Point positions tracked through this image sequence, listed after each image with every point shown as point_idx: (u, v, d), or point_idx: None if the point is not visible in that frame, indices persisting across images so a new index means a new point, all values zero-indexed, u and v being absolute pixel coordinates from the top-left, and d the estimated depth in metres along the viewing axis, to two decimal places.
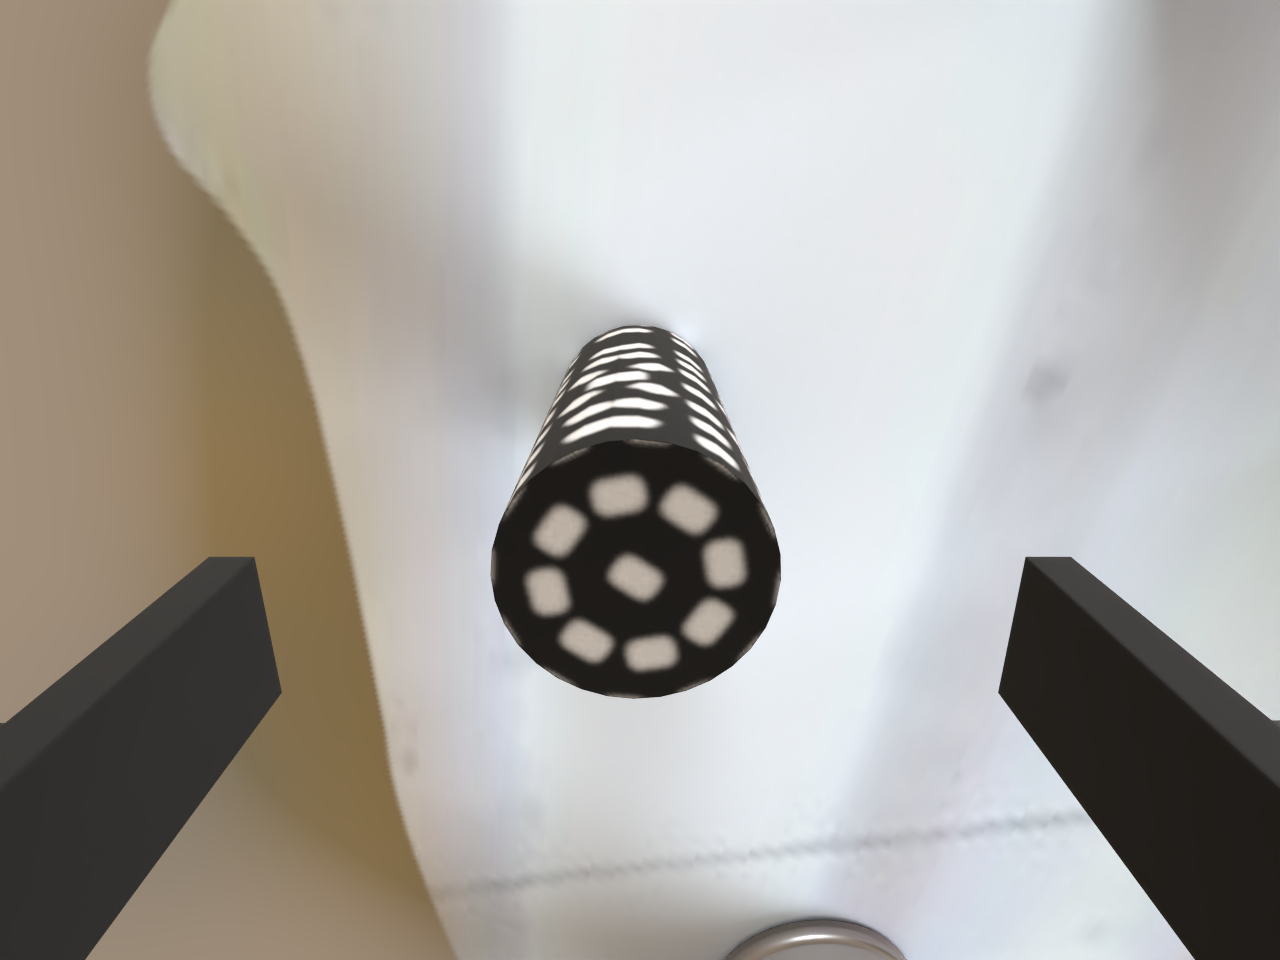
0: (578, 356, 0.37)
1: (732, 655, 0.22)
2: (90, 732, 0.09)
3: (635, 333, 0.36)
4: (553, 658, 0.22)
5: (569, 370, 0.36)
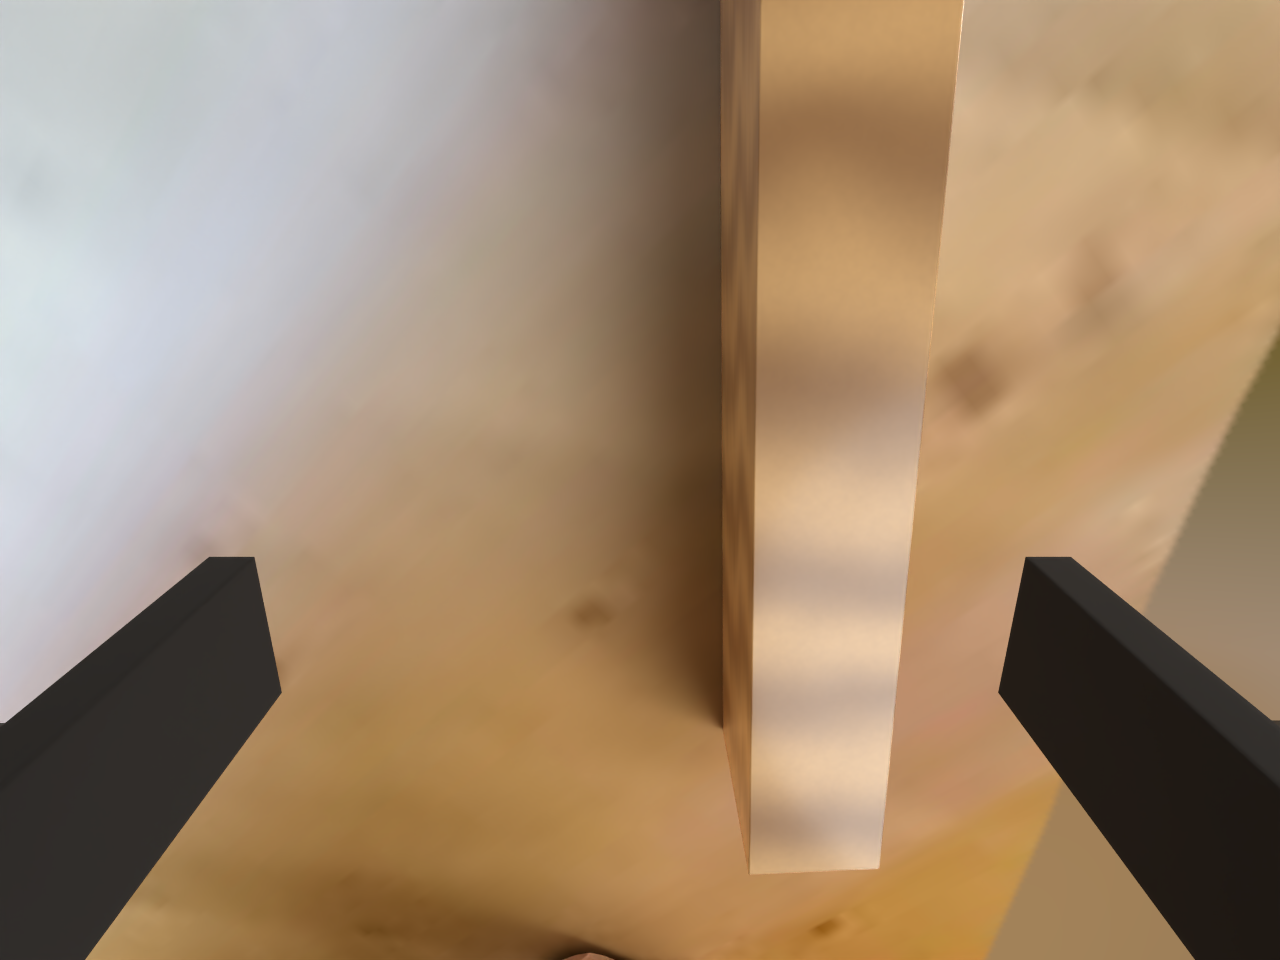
0: None
1: None
2: (90, 732, 0.09)
3: None
4: None
5: None
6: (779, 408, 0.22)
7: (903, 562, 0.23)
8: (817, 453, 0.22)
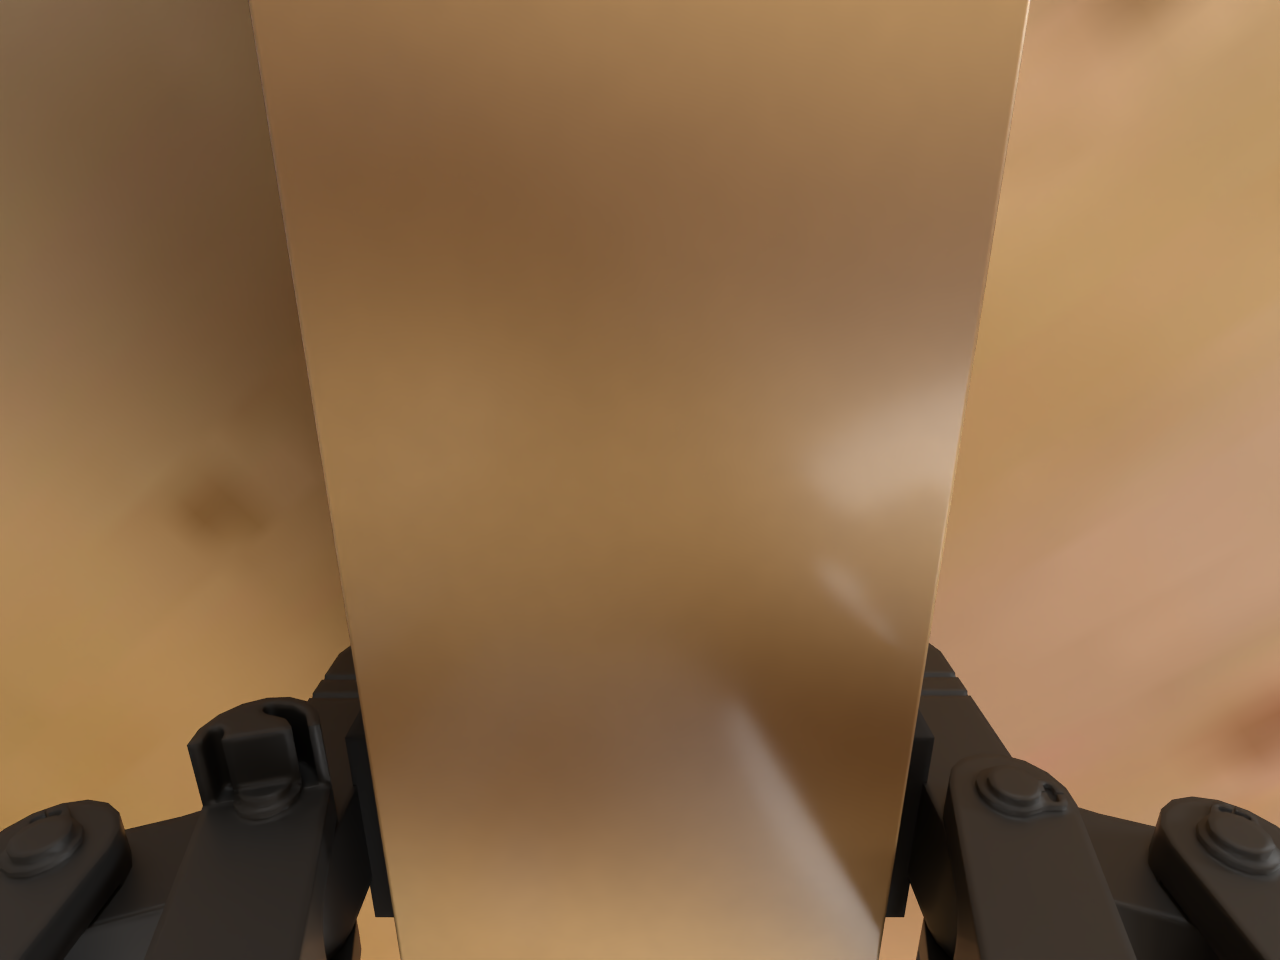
0: None
1: None
2: None
3: None
4: None
5: None
6: None
7: (985, 113, 0.05)
8: None
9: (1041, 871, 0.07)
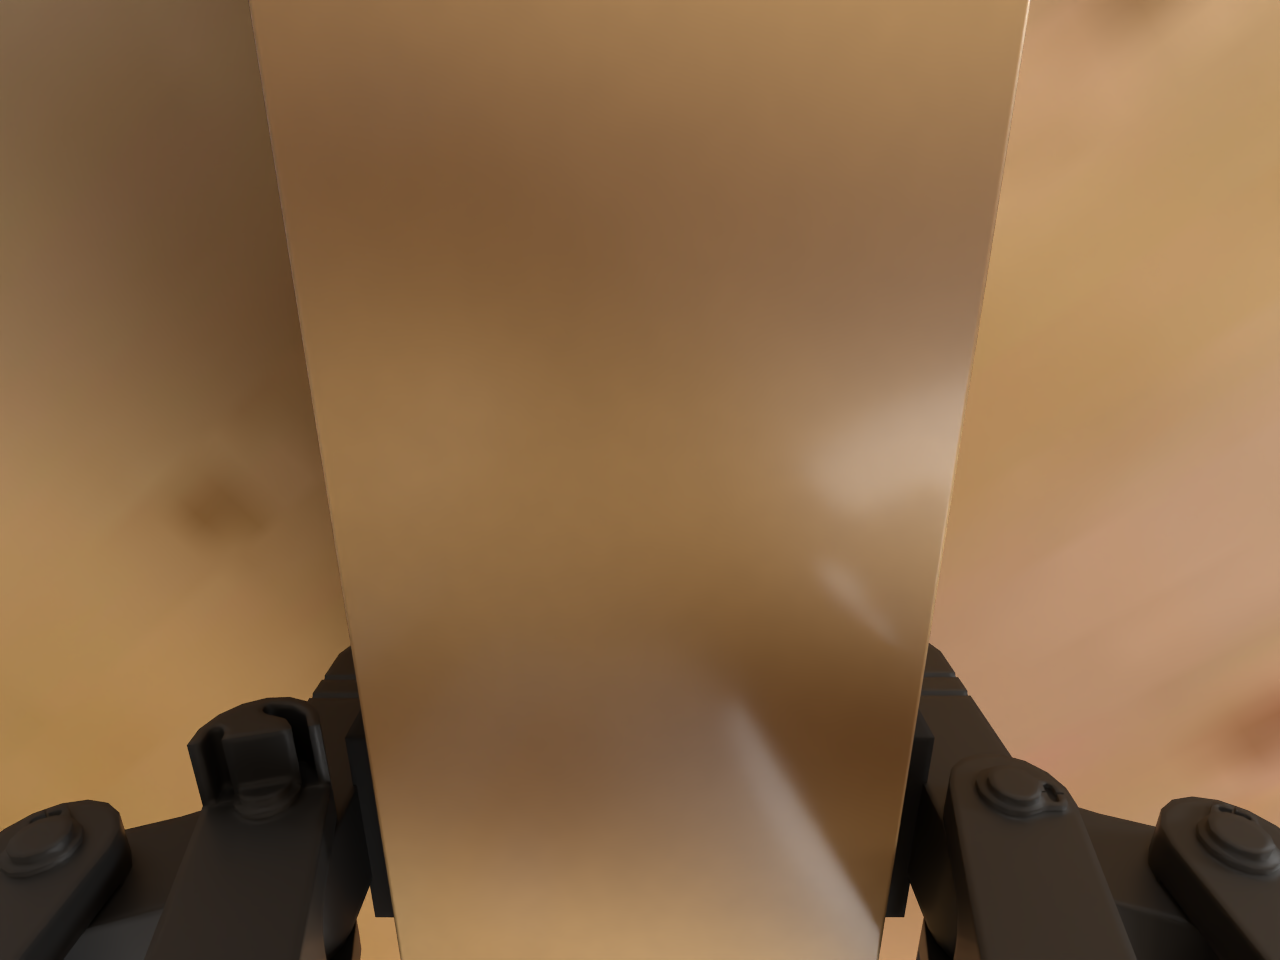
0: None
1: None
2: None
3: None
4: None
5: None
6: None
7: (984, 113, 0.05)
8: None
9: (1041, 871, 0.07)
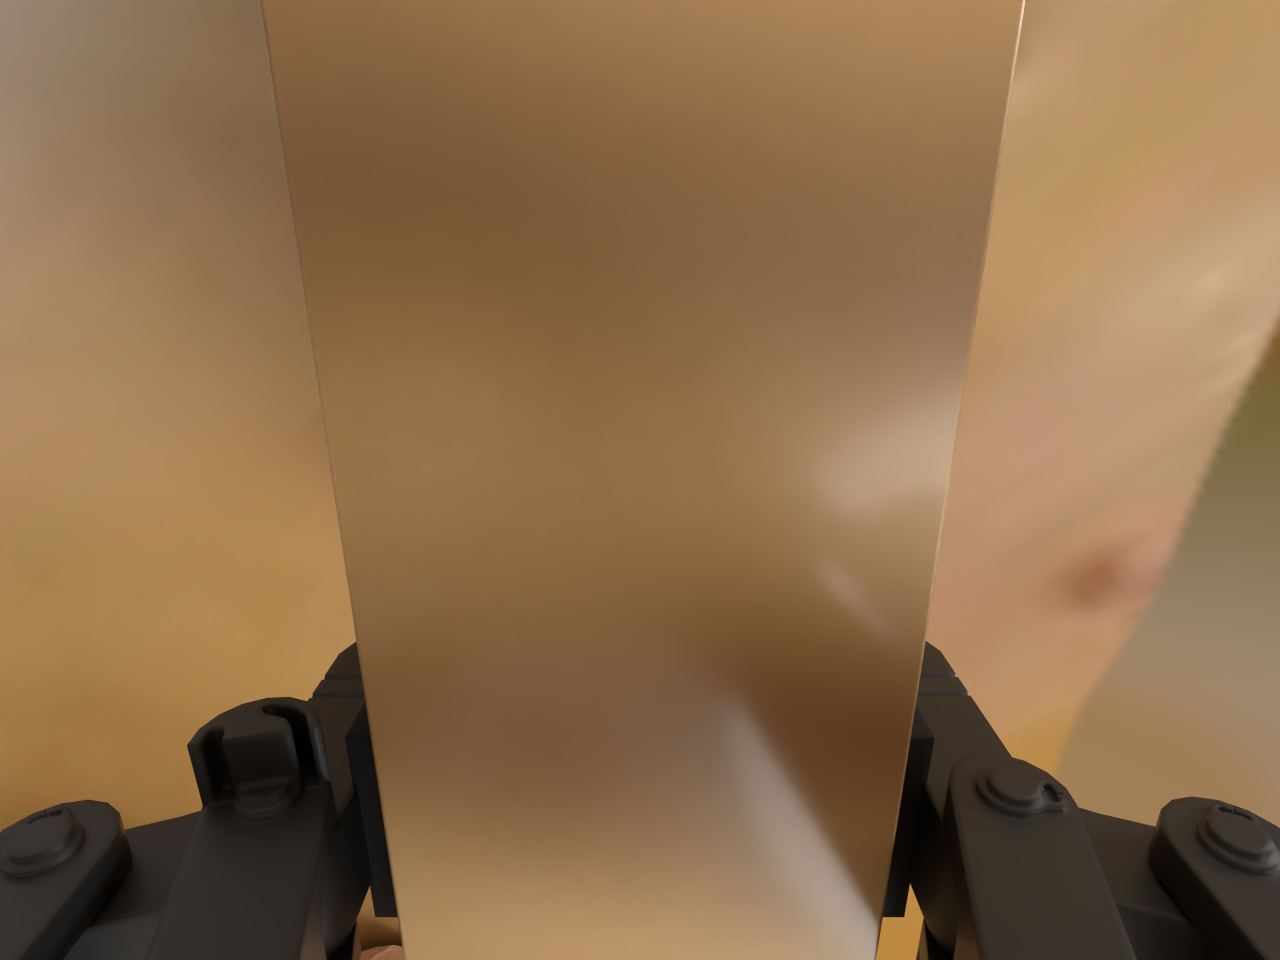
0: None
1: None
2: None
3: None
4: None
5: None
6: None
7: (980, 114, 0.05)
8: None
9: (1041, 871, 0.07)
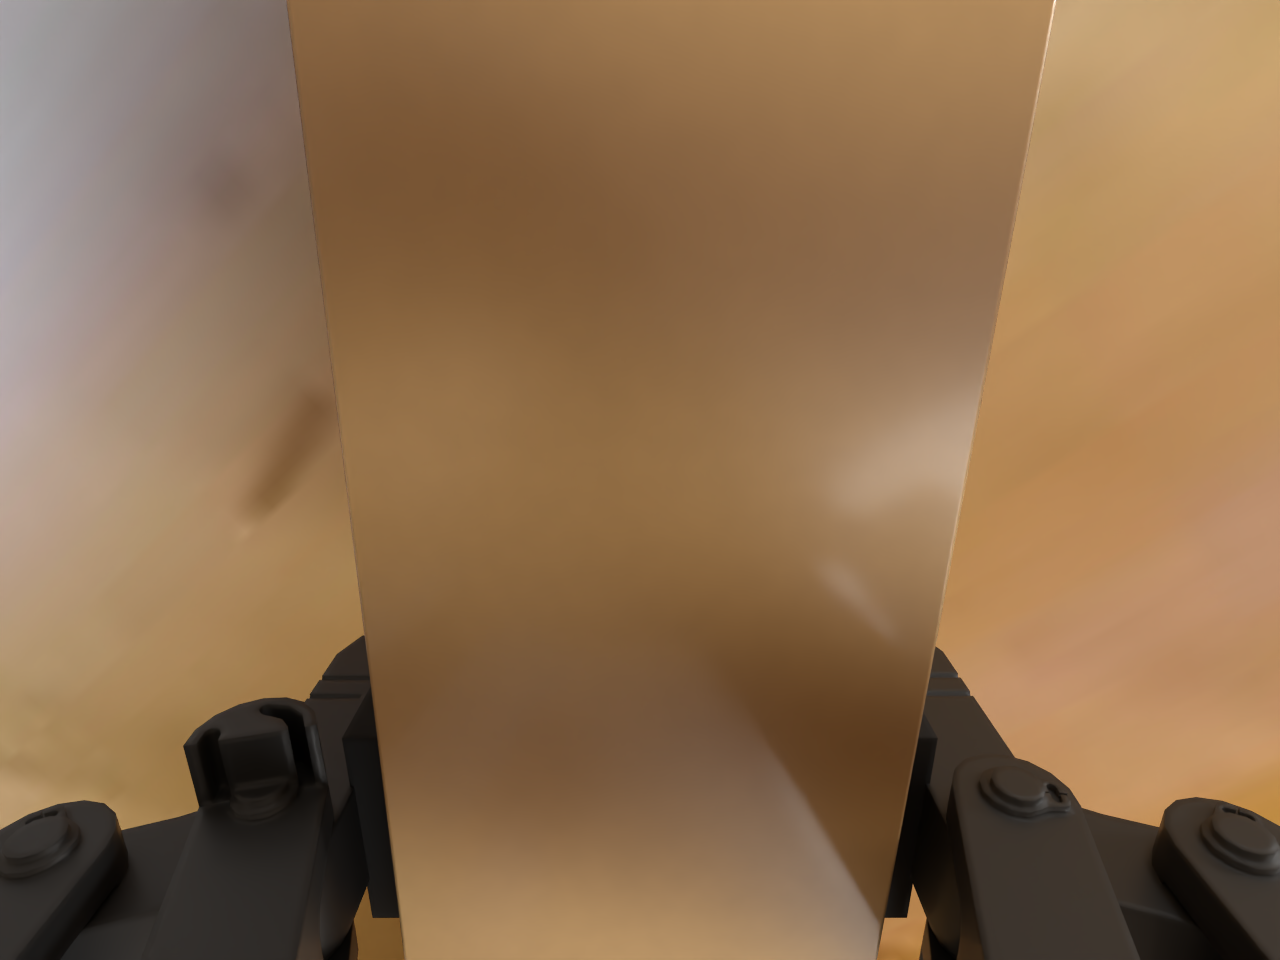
0: None
1: None
2: None
3: None
4: None
5: None
6: None
7: (1005, 127, 0.05)
8: None
9: (1044, 872, 0.07)
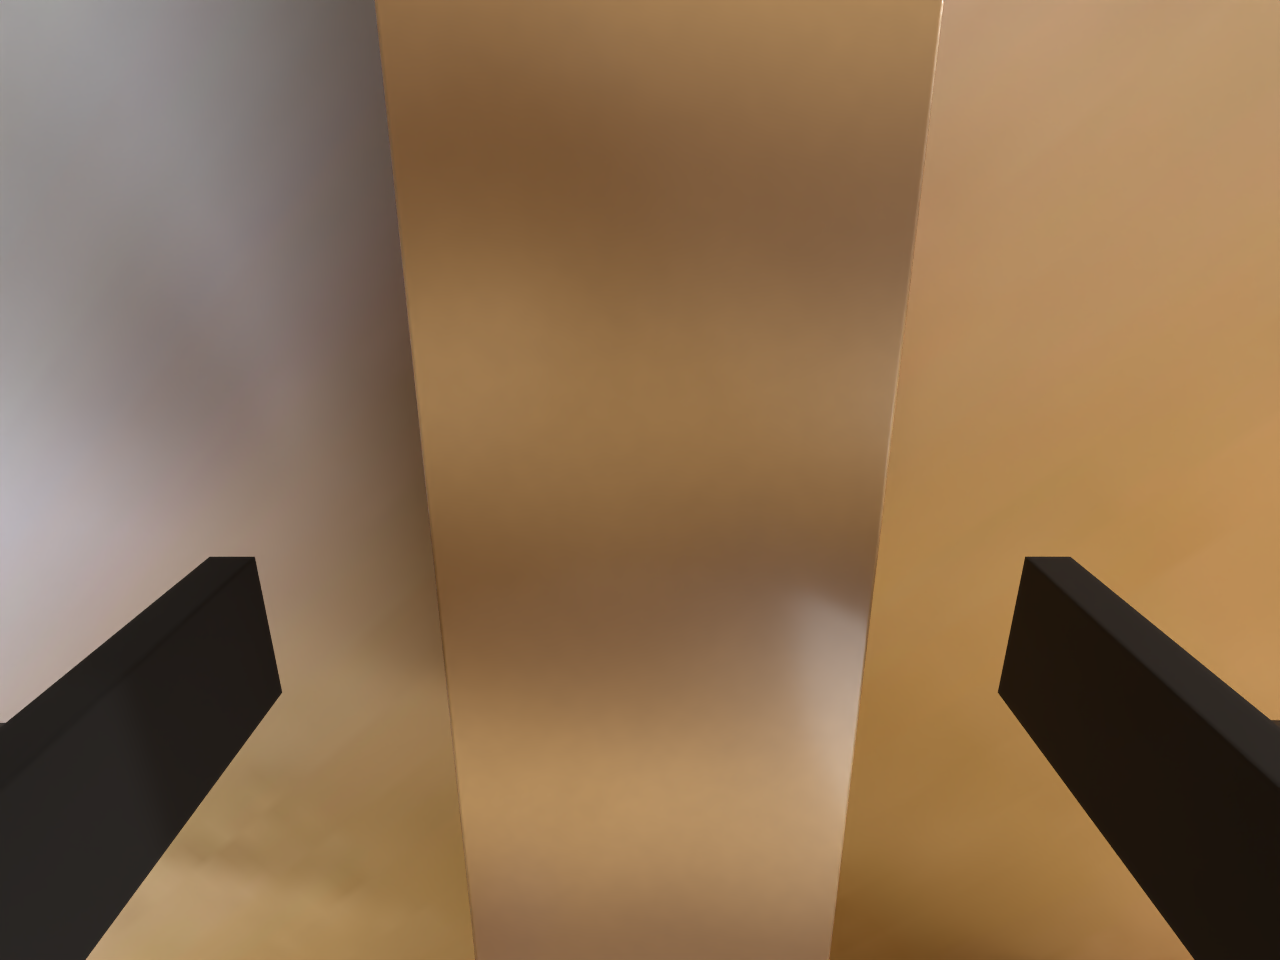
0: None
1: None
2: (91, 732, 0.09)
3: None
4: None
5: None
6: None
7: (910, 105, 0.07)
8: None
9: None
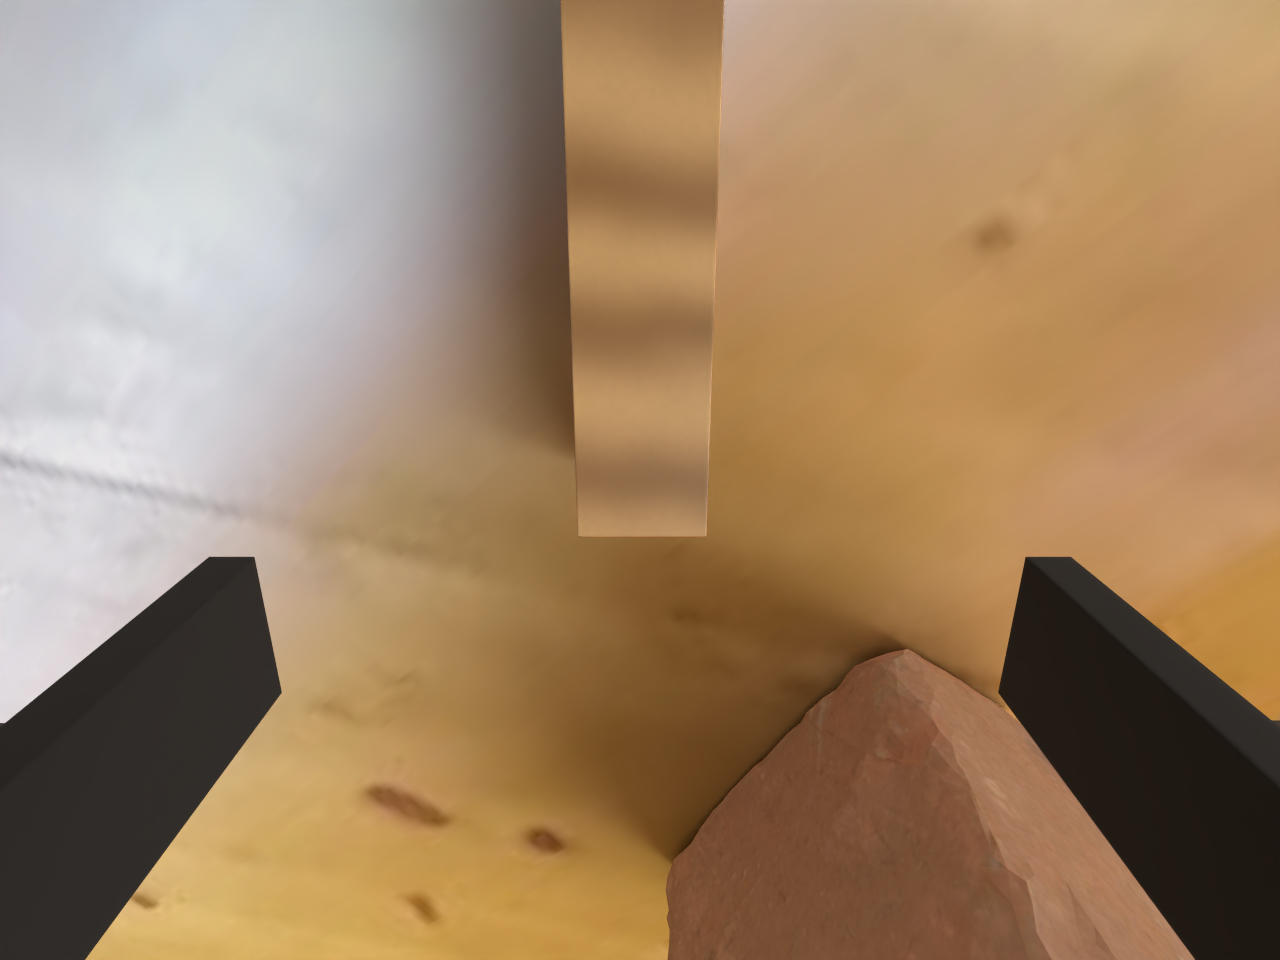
0: None
1: None
2: (90, 732, 0.09)
3: None
4: None
5: None
6: None
7: (712, 170, 0.24)
8: (622, 36, 0.23)
9: None
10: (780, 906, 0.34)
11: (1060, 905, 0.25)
